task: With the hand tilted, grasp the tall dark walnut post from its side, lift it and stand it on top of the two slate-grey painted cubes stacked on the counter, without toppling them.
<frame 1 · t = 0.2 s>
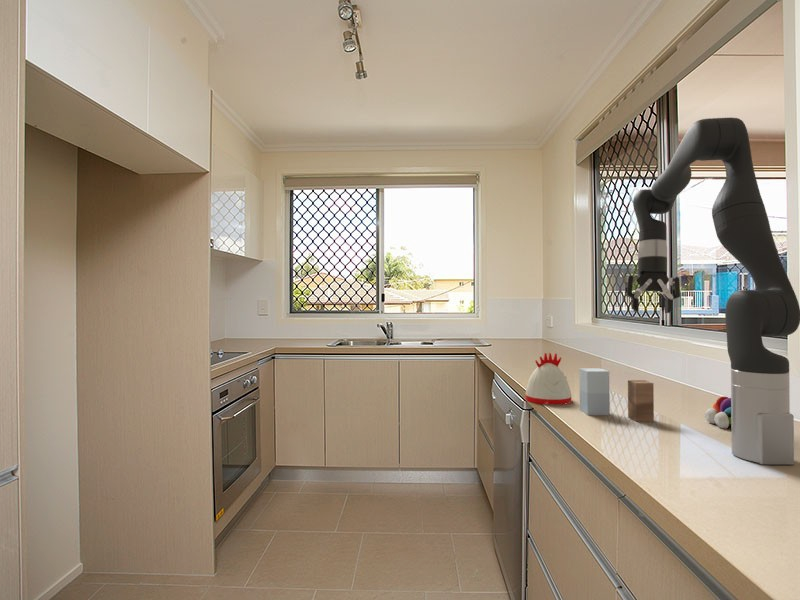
hand: (651, 312, 136), 28 cm above the worktop, tool pointing down, fingers open, 8 cm apart
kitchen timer: (548, 400, 149), on the worktop
tower top: (594, 391, 131), point 6 cm above the worktop, touching tower base
walnut post: (640, 419, 123), on the worktop
multicoloured plush toy: (729, 427, 117), on the worktop
tower base: (594, 412, 131), on the worktop, touching tower top
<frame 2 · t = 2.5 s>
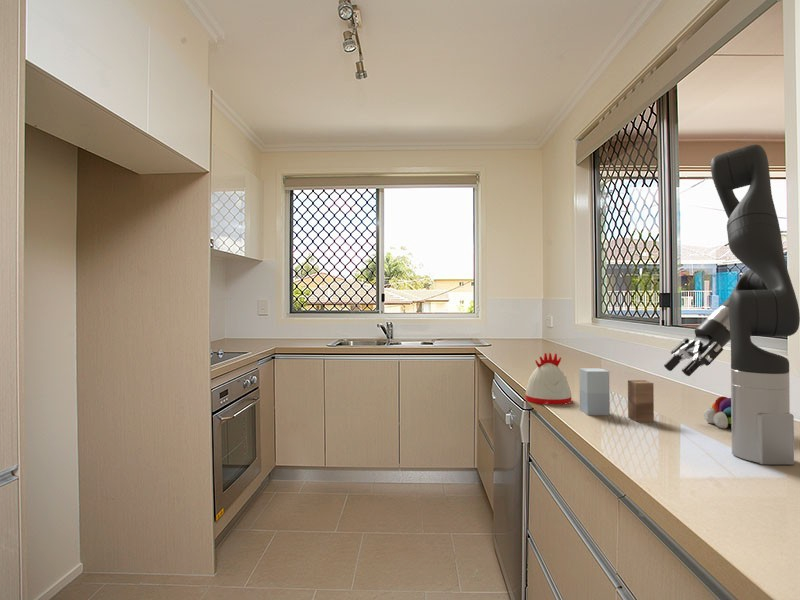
hand: (675, 371, 123), 13 cm above the worktop, tool tilted 45°, fingers open, 8 cm apart
nothing on the worktop moved.
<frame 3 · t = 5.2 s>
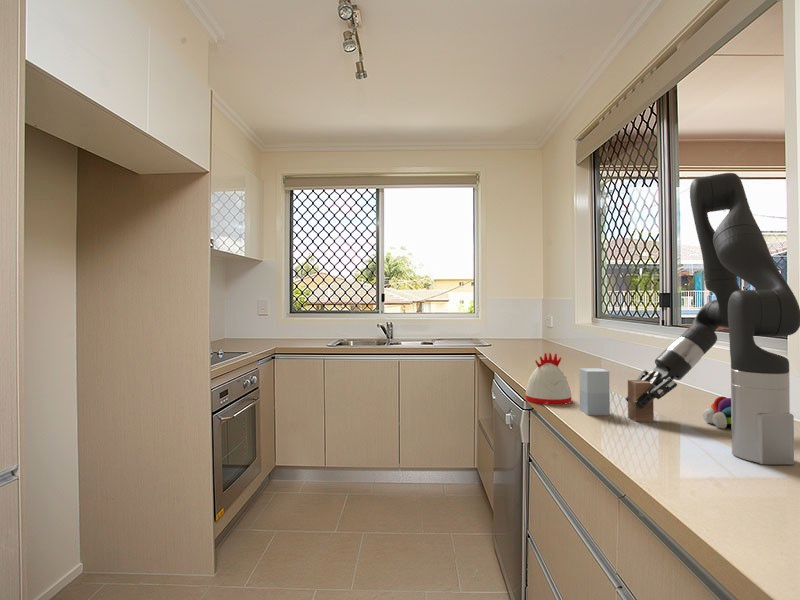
hand: (633, 403, 123), 4 cm above the worktop, tool tilted 45°, fingers closed on walnut post, 4 cm apart
walnut post: (640, 419, 123), on the worktop, touching gripper
everything else where it was.
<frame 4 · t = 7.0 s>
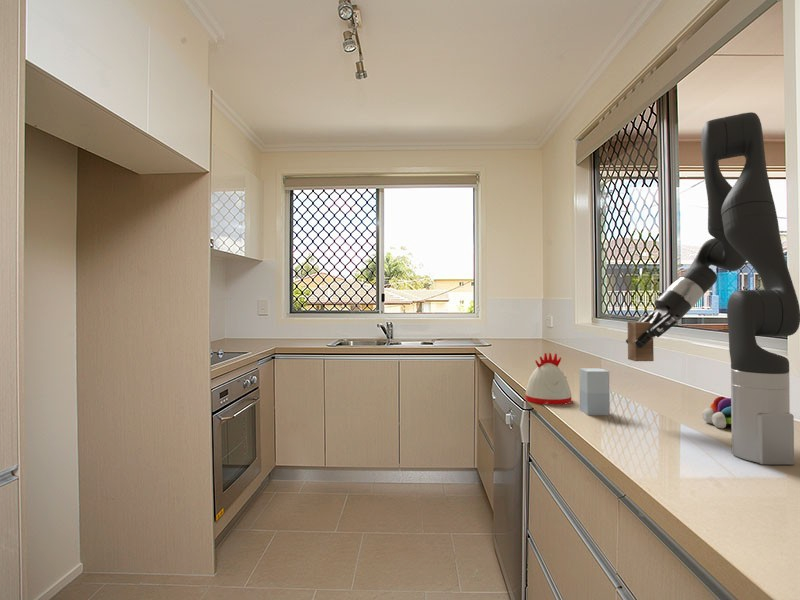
hand: (633, 344, 123), 20 cm above the worktop, tool tilted 45°, fingers closed on walnut post, 4 cm apart
walnut post: (640, 360, 123), point 16 cm above the worktop, touching gripper
everything else where it was.
when the fingers open (17 cm above the worktop, at t = 9.1 s): walnut post stays where it is, resting on tower top.
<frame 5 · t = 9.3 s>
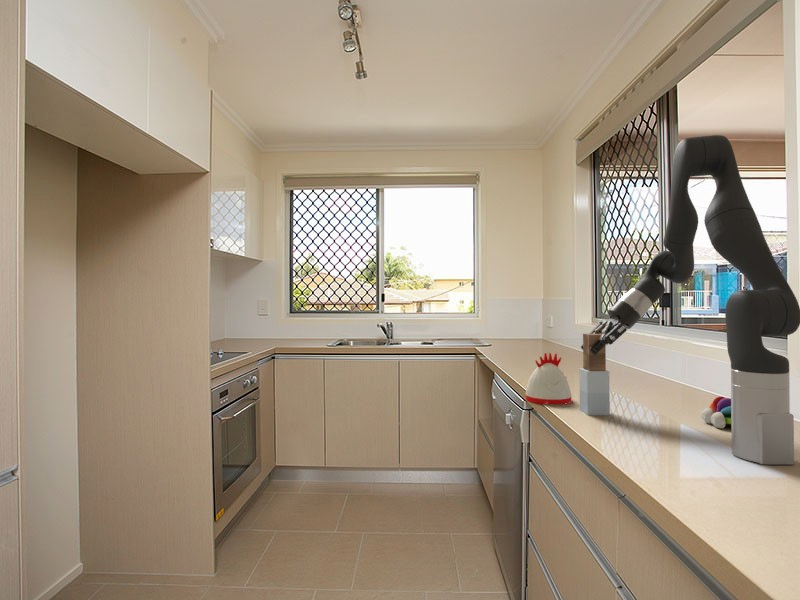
hand: (587, 350, 132), 17 cm above the worktop, tool tilted 45°, fingers open, 6 cm apart
tower top: (594, 391, 131), point 6 cm above the worktop, touching tower base, walnut post
walnut post: (594, 369, 131), point 12 cm above the worktop, touching tower top
everything else where it was.
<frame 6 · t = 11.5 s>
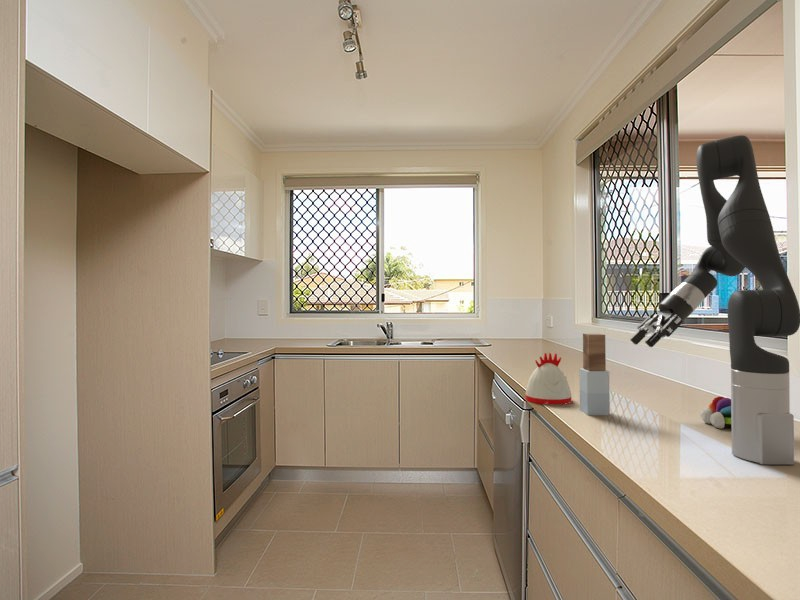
hand: (640, 343, 131), 19 cm above the worktop, tool tilted 45°, fingers open, 8 cm apart
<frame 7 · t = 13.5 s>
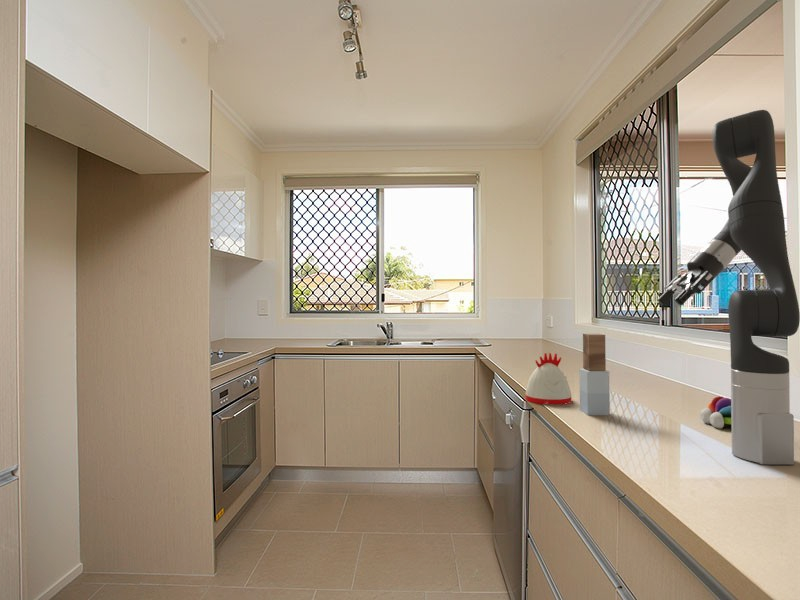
hand: (668, 302, 127), 31 cm above the worktop, tool tilted 45°, fingers open, 8 cm apart
at the end: walnut post 0.0 cm off-centre on the tower top, point 6.0 cm above the tower top's base; walnut post tilted 0°; tower top tilted 0° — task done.
